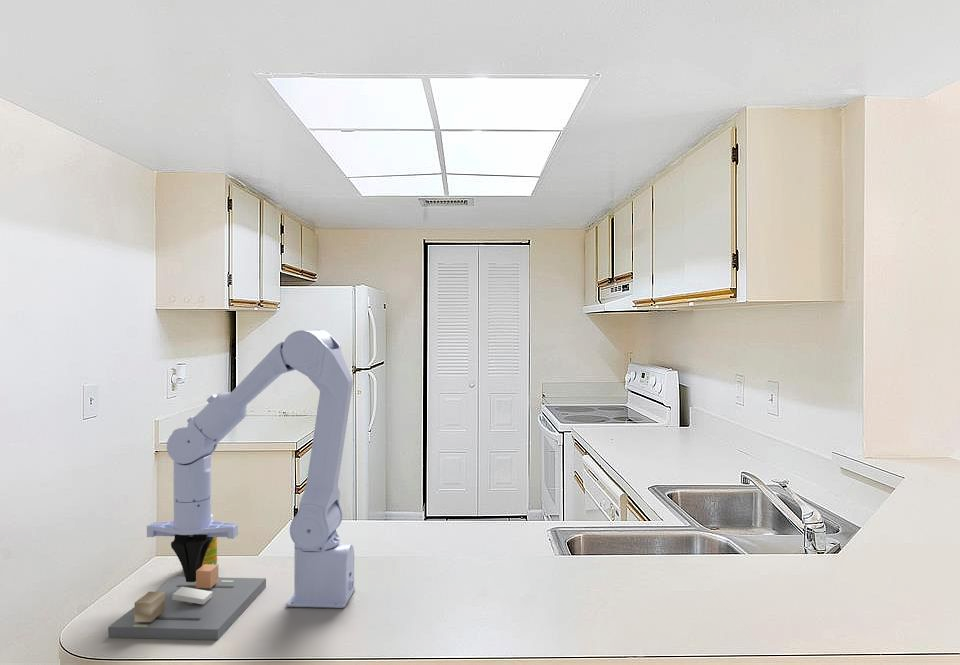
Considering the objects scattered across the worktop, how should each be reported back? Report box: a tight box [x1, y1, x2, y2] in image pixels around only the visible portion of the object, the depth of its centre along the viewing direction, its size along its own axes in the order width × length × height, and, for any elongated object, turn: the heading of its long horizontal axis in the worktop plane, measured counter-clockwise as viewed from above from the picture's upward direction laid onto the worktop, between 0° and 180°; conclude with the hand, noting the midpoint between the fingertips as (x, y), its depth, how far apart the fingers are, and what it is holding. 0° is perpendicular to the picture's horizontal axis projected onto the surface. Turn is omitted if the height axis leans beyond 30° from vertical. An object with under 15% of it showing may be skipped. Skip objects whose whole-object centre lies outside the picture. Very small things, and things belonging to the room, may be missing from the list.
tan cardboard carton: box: [134, 591, 165, 622], centre depth 98 cm, size 2×4×3 cm, turn 178°
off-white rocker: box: [172, 587, 212, 604], centre depth 104 cm, size 5×3×1 cm, turn 88°
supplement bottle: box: [202, 513, 218, 566], centre depth 122 cm, size 5×5×10 cm
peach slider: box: [196, 563, 219, 588], centre depth 110 cm, size 2×3×3 cm
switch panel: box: [107, 575, 267, 641], centre depth 105 cm, size 16×19×2 cm
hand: (192, 579), depth 110 cm, fingers closed
